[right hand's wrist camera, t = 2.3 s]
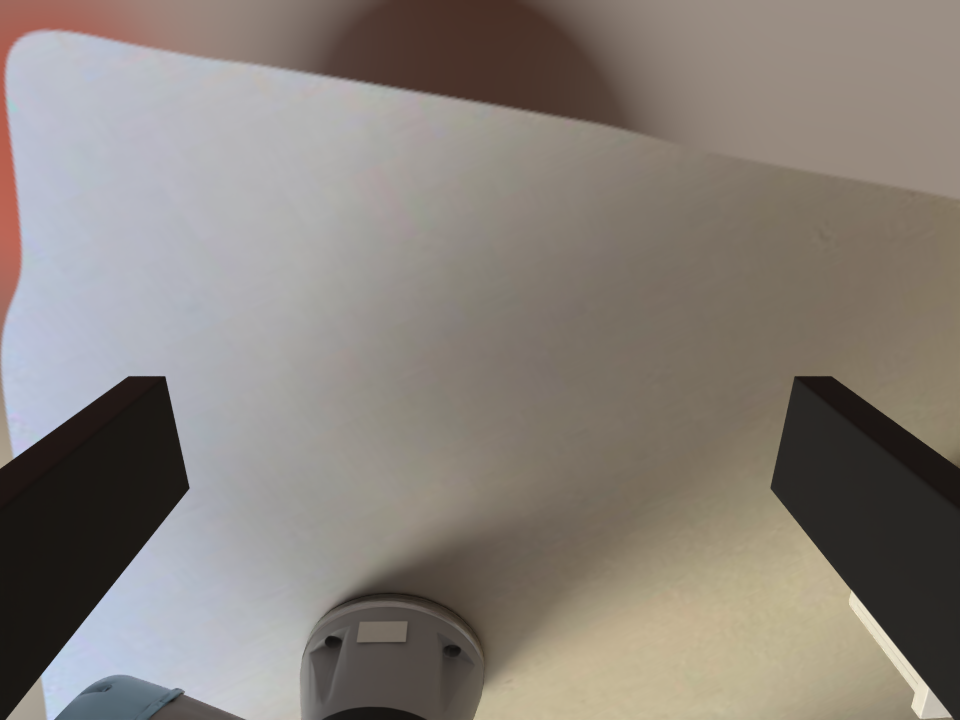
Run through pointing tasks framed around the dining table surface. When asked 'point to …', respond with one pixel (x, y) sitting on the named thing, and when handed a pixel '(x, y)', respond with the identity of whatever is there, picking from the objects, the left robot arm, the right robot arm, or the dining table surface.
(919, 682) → the lid
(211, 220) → the dining table surface
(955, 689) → the right robot arm
